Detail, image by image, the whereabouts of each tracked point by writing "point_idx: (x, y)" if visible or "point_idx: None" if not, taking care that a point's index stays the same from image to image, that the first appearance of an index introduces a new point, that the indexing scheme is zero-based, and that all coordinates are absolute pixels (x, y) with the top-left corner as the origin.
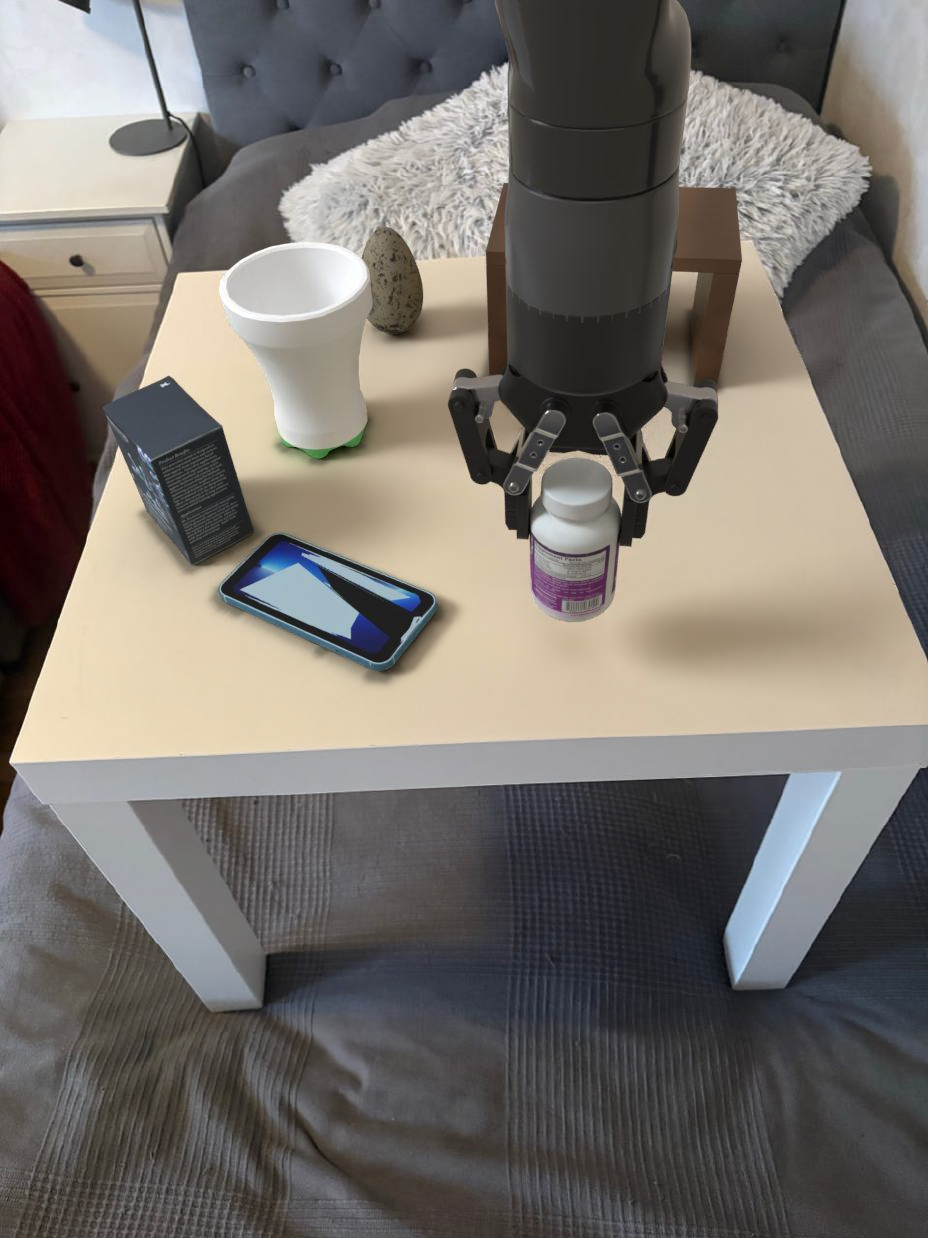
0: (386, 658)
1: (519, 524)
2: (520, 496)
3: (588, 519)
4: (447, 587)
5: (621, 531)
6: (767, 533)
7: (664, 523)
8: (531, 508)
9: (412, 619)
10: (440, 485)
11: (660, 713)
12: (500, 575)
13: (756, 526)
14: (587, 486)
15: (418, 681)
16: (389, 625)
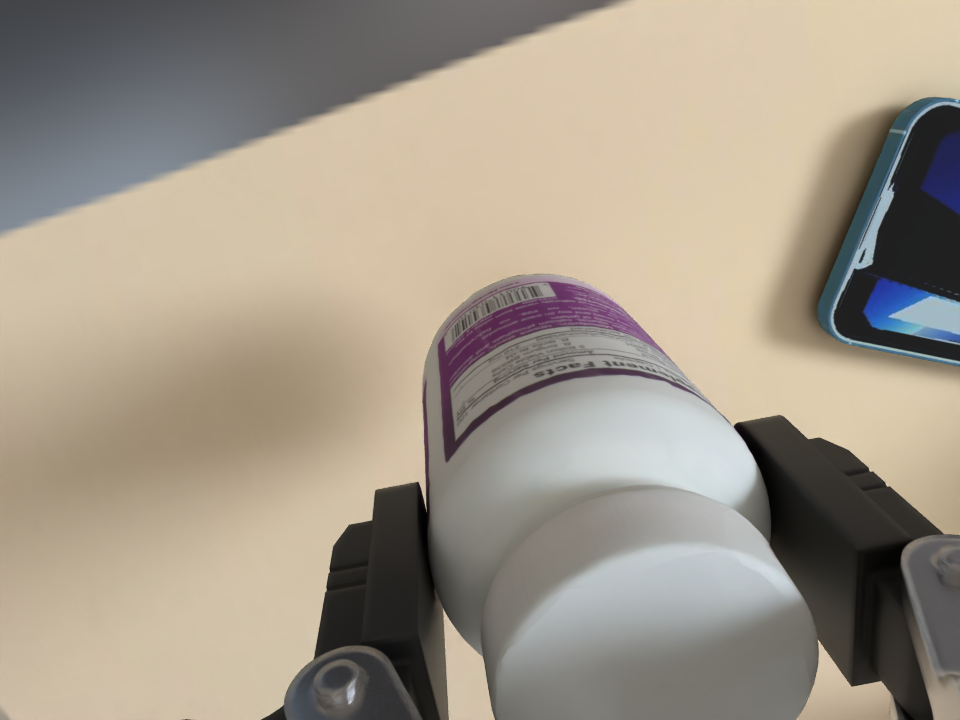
0: (919, 125)
1: (804, 450)
2: (890, 540)
3: (553, 514)
4: (798, 380)
5: (415, 522)
6: (193, 682)
7: None
8: None
9: (874, 256)
10: None
11: (266, 184)
12: None
13: (218, 692)
14: (603, 666)
15: (819, 109)
16: (926, 223)
